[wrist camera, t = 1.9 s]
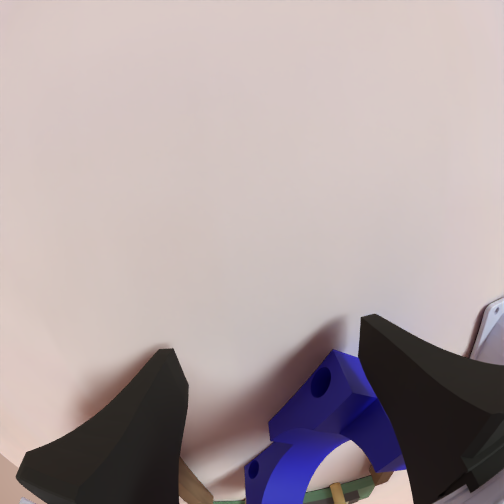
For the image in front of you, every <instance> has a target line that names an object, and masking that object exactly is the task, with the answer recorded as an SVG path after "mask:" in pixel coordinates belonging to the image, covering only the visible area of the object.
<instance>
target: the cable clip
mask: <svg viewBox="0 0 504 504" xmlns="http://www.w3.org/2000/svg"><path fill="white" fill-rule="evenodd" d="M268 425H269V433H270V441H274V442H273V443H272V444H271V445H270V446H269V447H268V448H267V449H265V450H264V451H263V452H262V453H261V454H259V455H258V456H257V457H256V458H255V459H253V460H252V461H251V462H250V463H248V464H247V465H246V466H244V469H245V490H246V504H303V500H304V496H305V492H306V489H307V487H308V484H309V482H310V480H311V478H312V476H313V474H314V472H315V470H316V469H317V467H318V466H319V465H320V463H321V462H322V461H323V460H324V458H325V457H326V456H327V455H328V454H329V453H330V452H332V451H333V450H334V449H335V448H337V447H338V446H340V445H341V444H343V443H345V442H347V441H349V440H352V441H353V442H354V443H356V444H357V445H358V446H359V447H360V448H361V449H362V450H363V452H364V453H365V454H366V455H367V457H368V459H369V460H370V462H371V464H372V466H373V468H374V470H375V472H376V473H381V472H390V471H398V470H405V469H406V465H405V462H404V458H403V455H402V452H401V449H400V446H399V443H398V440H397V437H396V435H395V432H394V429H393V427H392V424H391V422H390V420H389V418H388V416H387V414H386V412H385V411H384V409H383V407H382V405H381V403H380V402H379V400H378V398H377V396H376V394H375V393H374V391H373V389H372V387H371V385H370V383H369V382H368V380H367V378H366V376H365V373H364V371H363V368H362V366H361V363H360V360H359V358H358V357H354V356H351V355H348V354H345V353H342V352H340V351H337V350H334V349H333V350H332V351H331V352H330V353H329V355H328V356H327V357H326V358H325V360H324V361H323V362H322V363H321V365H320V366H319V367H318V368H317V369H316V371H315V372H314V373H313V374H312V375H311V376H310V378H309V379H308V380H307V381H306V382H305V383H304V385H303V386H302V387H301V388H300V389H299V390H298V391H297V392H296V394H295V395H294V396H293V397H292V398H291V399H290V400H289V401H288V402H287V403H286V405H285V406H284V407H283V408H282V409H281V410H280V411H279V412H278V413H277V414H276V415H275V416H274V417H273V418H272V419H271V420H270V421H269V422H268Z"/></svg>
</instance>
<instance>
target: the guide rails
mask: <svg viewBox="0 0 504 504" xmlns="http://www.w3.org/2000/svg"><path fill="white" fill-rule="evenodd" d="M369 471H370V473H371V476H372V479H373V482H374V485H375V486H377V485H380V484H382V483H385V482H387V481H388V480H389V478H390V477H391V475H392V474H393V472H394V471H390V472H381V473H376V472H375V470H374V468H373V466H372V465H371V468H370V470H369ZM179 496H180V497H181V498H182V499H183V500H184V501H186V502H187V503H188V504H213V495H212V494H211V493H210V492H209V491H208V490H207V489H206V488H205V487H204V486H203V484H202V483H201V482H200V481H199V480H198V479H197V477H196V476H195V475H194V474H193V473H192V472H191V470H190V469H189V468H188V467H187V465H186V464H185V463H184V462H183V460H182V459H181V458H180V457H179Z"/></svg>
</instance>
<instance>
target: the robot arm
mask: <svg viewBox="0 0 504 504" xmlns="http://www.w3.org/2000/svg"><path fill="white" fill-rule="evenodd" d="M358 358H359V360H360V363H361V366H362V368H363V371H364V373H365V376H366V378H367V380H368V382H369V383H370V385H371V387H372V389H373V391H374V393H375V394H376V396H377V398H378V400H379V402H380V403H381V405H382V407H383V409H384V411H385V412H386V414H387V416H388V418H389V420H390V422H391V424H392V427H393V429H394V432H395V435H396V437H397V440H398V443H399V446H400V449H401V452H402V455H403V458H404V462H405V465H406V469H407V473H408V477H409V481H410V486H411V491H412V496H413V503H414V504H504V297H503V298H501V299H499V300H497V301H495V302H493V303H491V304H490V305H488V307H487V308H486V310H485V312H484V316H483V319H482V323H481V326H480V329H479V333H478V336H477V339H476V342H475V345H474V348H473V350H472V353H471V356H470V359H469V358H466V357H463V356H460V355H457V354H454V353H451V352H449V351H446V350H443V349H441V348H439V347H437V346H434V345H432V344H430V343H428V342H426V341H424V340H422V339H420V338H418V337H416V336H414V335H412V334H411V333H409V332H407V331H405V330H403V329H402V328H400V327H398V326H396V325H395V324H393V323H391V322H389V321H388V320H386V319H384V318H382V317H381V316H379V315H377V314H372V315H368V316H364V317H361V325H360V340H359V352H358ZM188 389H189V385H188V382H187V380H186V378H185V375H184V373H183V371H182V368H181V366H180V363H179V361H178V358H177V356H176V353H175V351H174V348H172V349H159V350H158V351H157V352H156V353H155V354H154V356H153V357H152V358H151V359H150V360H149V361H148V362H147V364H146V365H145V366H144V367H143V368H142V369H141V370H140V372H139V373H138V374H137V375H136V376H135V377H134V378H133V379H132V381H131V382H130V383H129V384H128V385H127V386H126V387H125V388H124V389H123V390H122V391H121V392H120V393H119V394H118V395H117V396H116V397H115V398H114V399H113V400H112V401H111V402H110V403H109V404H108V405H107V406H106V407H104V408H103V409H102V410H101V411H100V412H98V413H97V414H96V415H95V416H94V417H92V418H91V419H89V420H88V421H87V422H85V423H84V424H82V425H81V426H79V427H78V428H76V429H75V430H73V431H72V432H70V433H68V434H66V435H65V436H63V437H61V438H59V439H57V440H55V441H53V442H51V443H49V444H47V445H44V446H42V447H39V448H36V449H34V450H31V451H28V452H26V454H25V456H24V458H23V461H22V463H21V465H20V467H19V470H18V472H17V475H16V479H17V480H18V481H19V483H20V484H21V485H23V486H24V487H25V488H26V489H27V490H29V491H30V492H32V493H33V494H34V495H36V496H37V497H38V498H40V499H41V500H43V501H44V502H46V503H47V504H179V457H180V449H181V443H182V437H183V432H184V426H185V420H186V415H187V409H188ZM19 504H36V503H33V502H32V501H30V500H28V499H26V498H24V497H22V498H21V501H20V503H19Z"/></svg>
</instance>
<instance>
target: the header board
mask: <svg viewBox="0 0 504 504" xmlns="http://www.w3.org/2000/svg"><path fill="white" fill-rule="evenodd" d="M374 487H375V485H374V482H373V479H372V476H368V477H365V478H362V479H358V480H355V481H352V482H348V483H345V484H340V483H334V484H332V485H330V488H326V489H321V490H317V491H312V492H307V493H305V496H304V500H303V504H352V503H355V502H358V500H361V499H364V498H367V497H369V495H370V494H371V492H372V491H373V489H374ZM213 504H246V498H245V501H227V502H213Z"/></svg>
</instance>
